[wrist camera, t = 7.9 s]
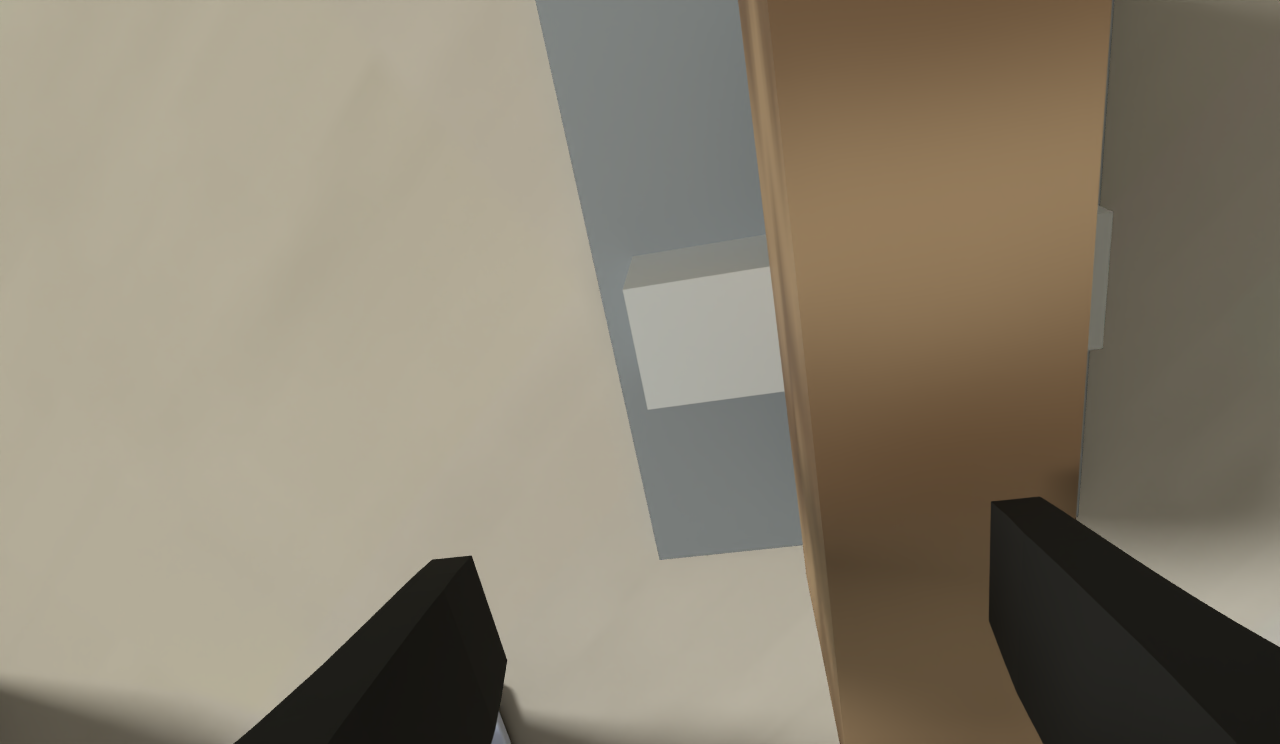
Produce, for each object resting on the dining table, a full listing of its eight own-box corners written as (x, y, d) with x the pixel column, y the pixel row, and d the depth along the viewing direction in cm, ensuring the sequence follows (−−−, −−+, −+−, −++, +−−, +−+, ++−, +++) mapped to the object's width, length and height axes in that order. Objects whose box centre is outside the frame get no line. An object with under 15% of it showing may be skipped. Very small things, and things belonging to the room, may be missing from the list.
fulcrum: (1068, 503, 21) (1127, 579, 18) (660, 547, 23) (654, 622, 20) (1109, -152, 15) (1211, -198, 12) (535, -22, 16) (500, -34, 13)
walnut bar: (951, 561, 18) (1057, 784, 13) (806, 575, 19) (850, 794, 13) (940, -73, 13) (1123, -152, 7) (734, -29, 13) (760, -71, 8)
